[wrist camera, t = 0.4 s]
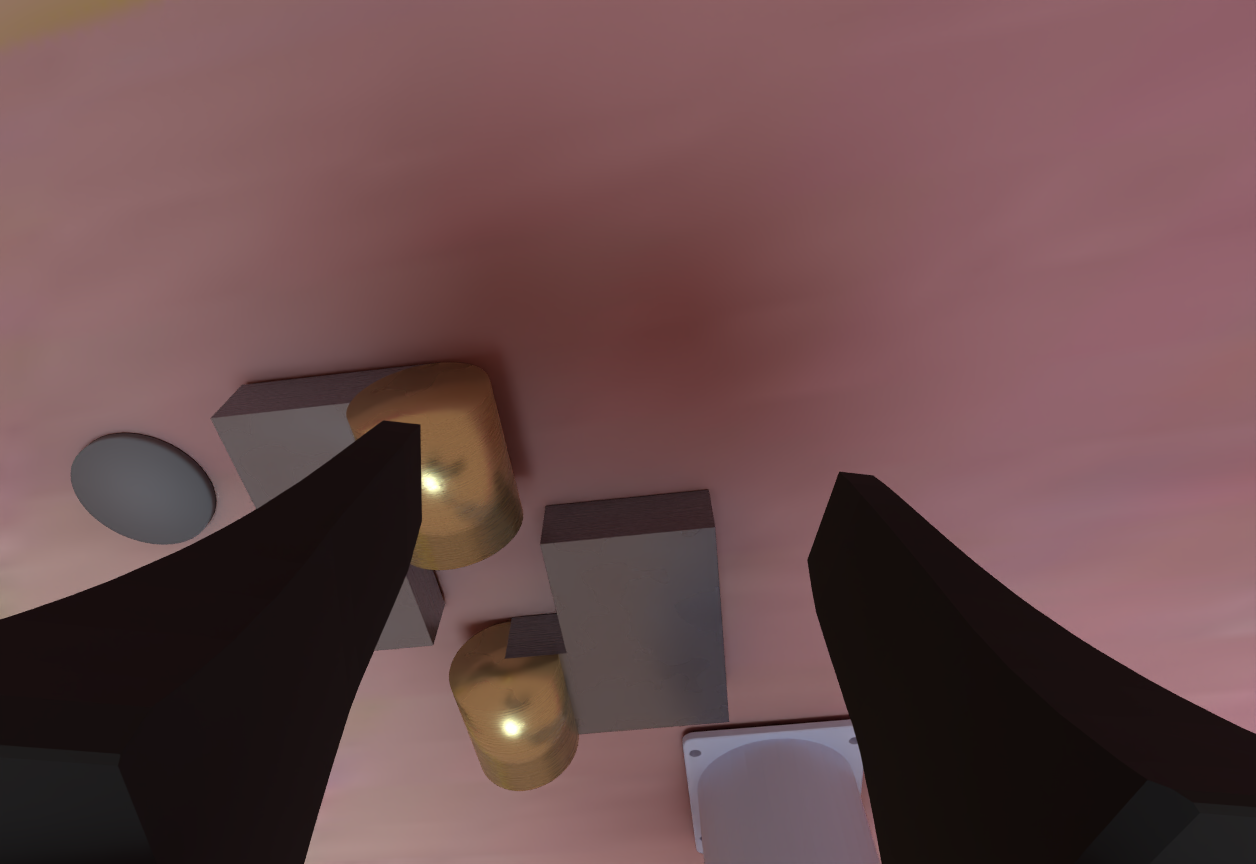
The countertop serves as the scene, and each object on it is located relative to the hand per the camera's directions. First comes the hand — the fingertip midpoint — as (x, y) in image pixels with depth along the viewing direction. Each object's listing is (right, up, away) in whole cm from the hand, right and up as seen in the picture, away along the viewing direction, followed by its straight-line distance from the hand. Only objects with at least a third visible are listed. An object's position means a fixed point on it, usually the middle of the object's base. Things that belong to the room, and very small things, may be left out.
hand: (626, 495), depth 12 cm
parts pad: (-16, -1, +12) cm, 20 cm away
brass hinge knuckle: (-7, -1, +12) cm, 14 cm away
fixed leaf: (-2, -6, +15) cm, 16 cm away
